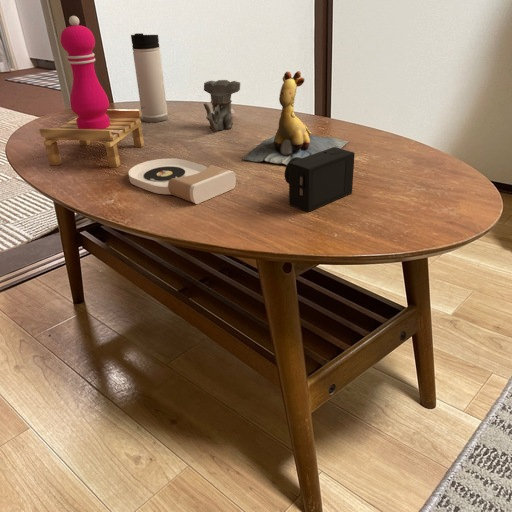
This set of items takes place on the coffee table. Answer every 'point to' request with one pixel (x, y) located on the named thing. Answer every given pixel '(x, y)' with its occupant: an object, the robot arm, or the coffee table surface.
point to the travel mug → (149, 77)
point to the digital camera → (320, 178)
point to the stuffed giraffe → (291, 131)
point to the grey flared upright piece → (220, 103)
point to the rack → (96, 135)
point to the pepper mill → (84, 78)
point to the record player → (182, 179)
